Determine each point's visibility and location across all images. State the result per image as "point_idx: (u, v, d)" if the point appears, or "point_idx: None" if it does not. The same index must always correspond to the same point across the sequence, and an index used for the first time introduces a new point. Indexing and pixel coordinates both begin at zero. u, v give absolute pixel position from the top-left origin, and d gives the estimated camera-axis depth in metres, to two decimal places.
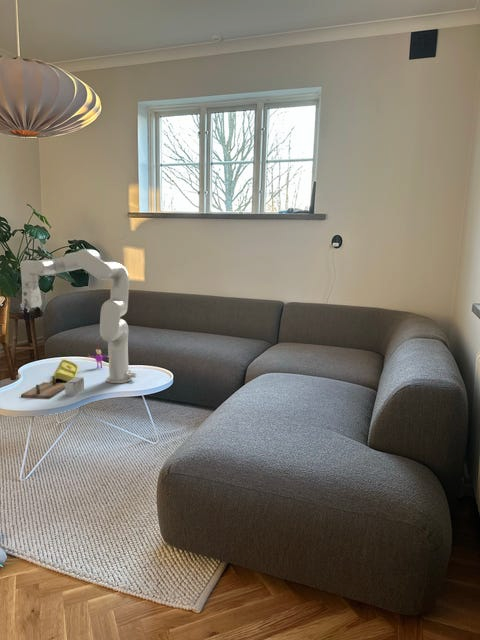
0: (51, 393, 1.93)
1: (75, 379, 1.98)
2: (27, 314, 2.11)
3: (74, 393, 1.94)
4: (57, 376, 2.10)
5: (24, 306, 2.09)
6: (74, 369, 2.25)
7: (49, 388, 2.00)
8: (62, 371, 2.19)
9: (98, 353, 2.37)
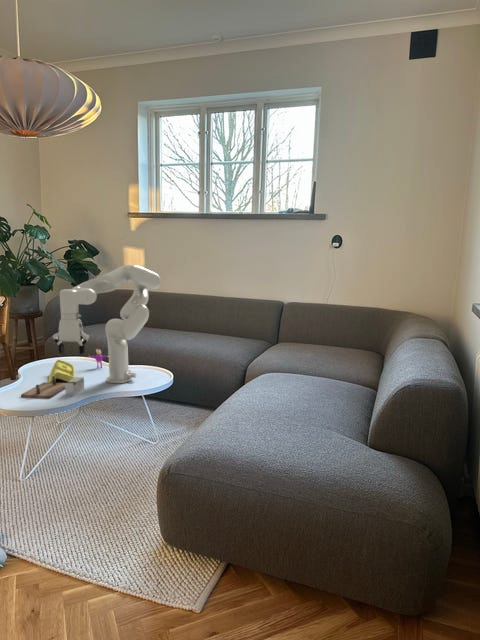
0: (51, 393, 1.93)
1: (75, 379, 1.98)
2: None
3: (74, 393, 1.94)
4: (56, 376, 2.10)
5: None
6: (70, 369, 2.26)
7: (49, 388, 2.00)
8: (59, 371, 2.19)
9: (98, 353, 2.37)
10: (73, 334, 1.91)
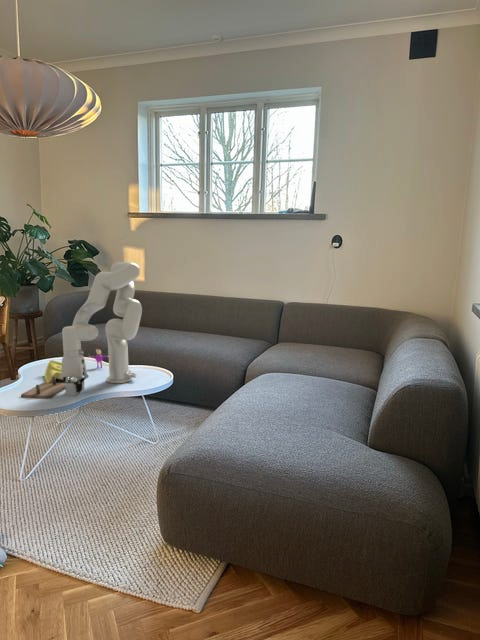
0: (51, 393, 1.93)
1: (75, 379, 1.99)
2: None
3: (74, 392, 1.94)
4: (56, 376, 2.10)
5: None
6: None
7: (49, 388, 2.00)
8: (55, 371, 2.19)
9: (98, 353, 2.37)
10: (76, 370, 1.94)
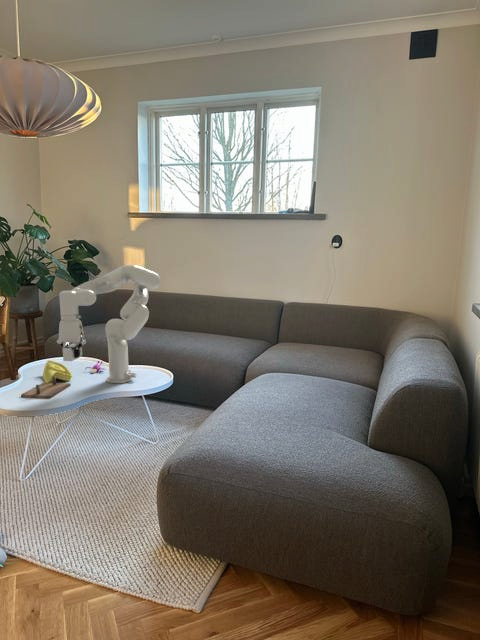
0: (51, 393, 1.93)
1: (73, 345, 1.96)
2: None
3: (72, 358, 1.91)
4: (55, 376, 2.10)
5: None
6: (63, 369, 2.26)
7: (49, 388, 2.00)
8: (54, 371, 2.19)
9: None
10: (73, 335, 1.91)
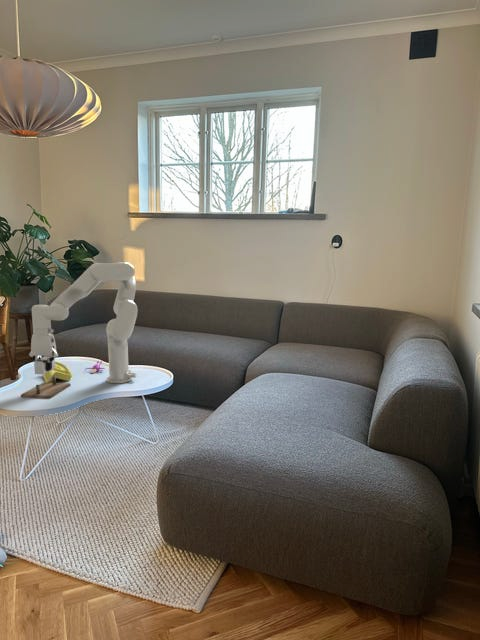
0: (51, 393, 1.93)
1: (45, 358, 1.98)
2: None
3: (43, 371, 1.94)
4: (55, 376, 2.11)
5: None
6: (63, 368, 2.26)
7: (49, 388, 2.00)
8: (54, 371, 2.19)
9: None
10: (45, 349, 1.94)
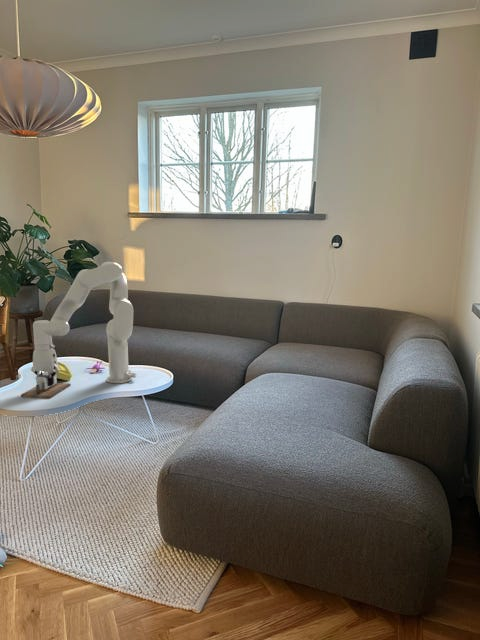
0: (51, 393, 1.93)
1: (47, 373, 2.00)
2: None
3: (45, 386, 1.95)
4: None
5: None
6: (63, 368, 2.27)
7: (49, 388, 2.00)
8: None
9: None
10: (47, 364, 1.95)
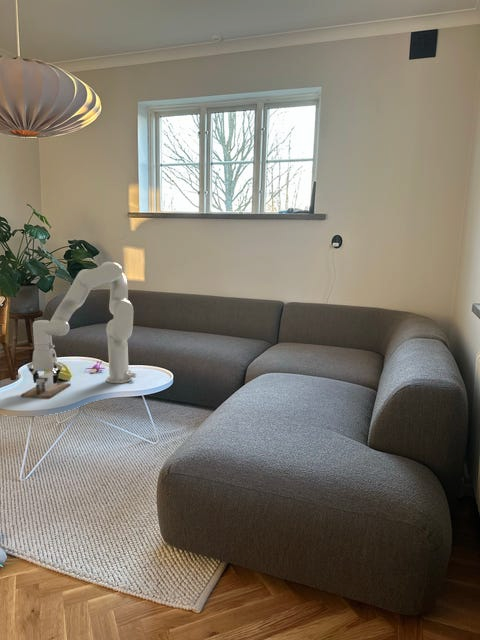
0: (51, 393, 1.93)
1: (47, 375, 2.00)
2: None
3: (46, 389, 1.96)
4: None
5: None
6: (64, 368, 2.27)
7: None
8: None
9: None
10: (46, 364, 1.95)
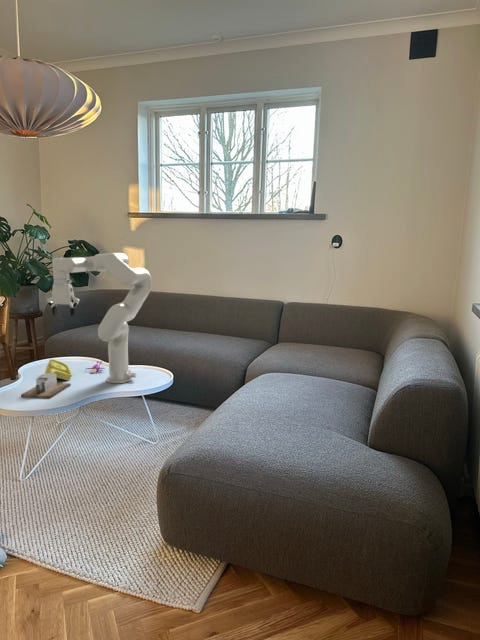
0: (51, 393, 1.93)
1: (47, 375, 2.00)
2: None
3: (46, 389, 1.96)
4: None
5: None
6: (64, 368, 2.27)
7: None
8: (55, 370, 2.21)
9: None
10: (65, 297, 2.15)
